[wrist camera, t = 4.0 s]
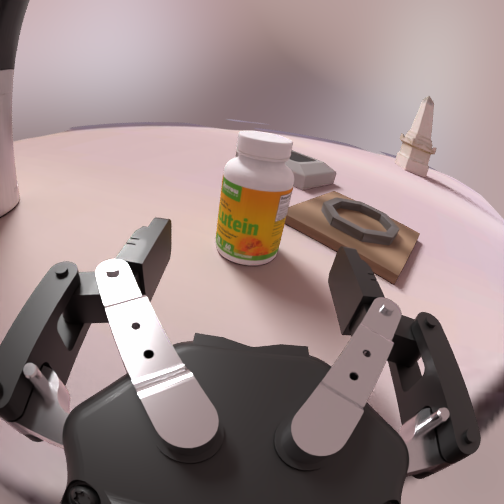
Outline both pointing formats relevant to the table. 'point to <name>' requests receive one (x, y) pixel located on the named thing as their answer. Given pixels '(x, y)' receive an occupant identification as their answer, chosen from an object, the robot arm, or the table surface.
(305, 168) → the grey flat boxy piece
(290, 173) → the supplement bottle
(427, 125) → the miniature monument
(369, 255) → the carrier plate
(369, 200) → the table surface
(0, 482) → the table surface
